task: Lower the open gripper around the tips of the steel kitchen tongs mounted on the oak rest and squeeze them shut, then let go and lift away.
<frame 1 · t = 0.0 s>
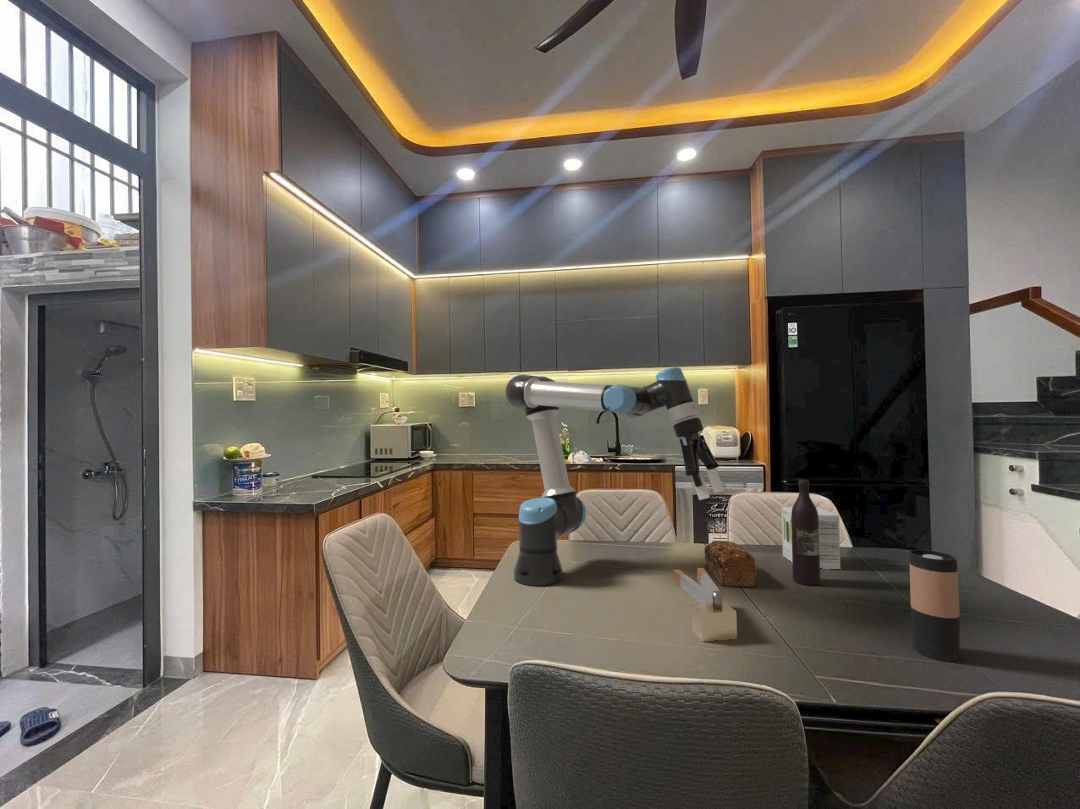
hand: (712, 495, 122), 28 cm above the table, tool tilted 20°, fingers open, 13 cm apart
tong arm: (708, 586, 110), point 8 cm above the table, hinge at 15.0°
travel mug: (936, 653, 93), on the table
bread: (728, 577, 139), on the table
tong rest: (714, 635, 102), on the table
wine bottle: (806, 582, 134), on the table
supplement box: (810, 563, 152), on the table
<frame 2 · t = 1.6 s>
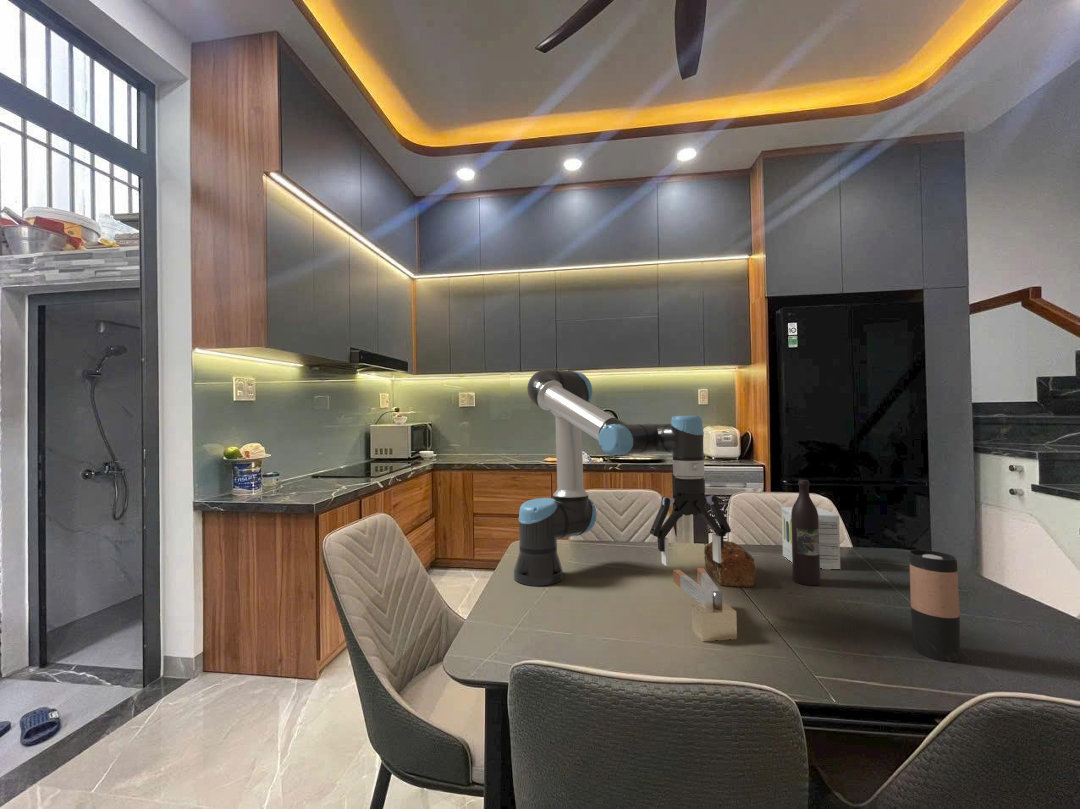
hand: (691, 563, 113), 13 cm above the table, tool pointing down, fingers open, 13 cm apart
nothing on the table moved.
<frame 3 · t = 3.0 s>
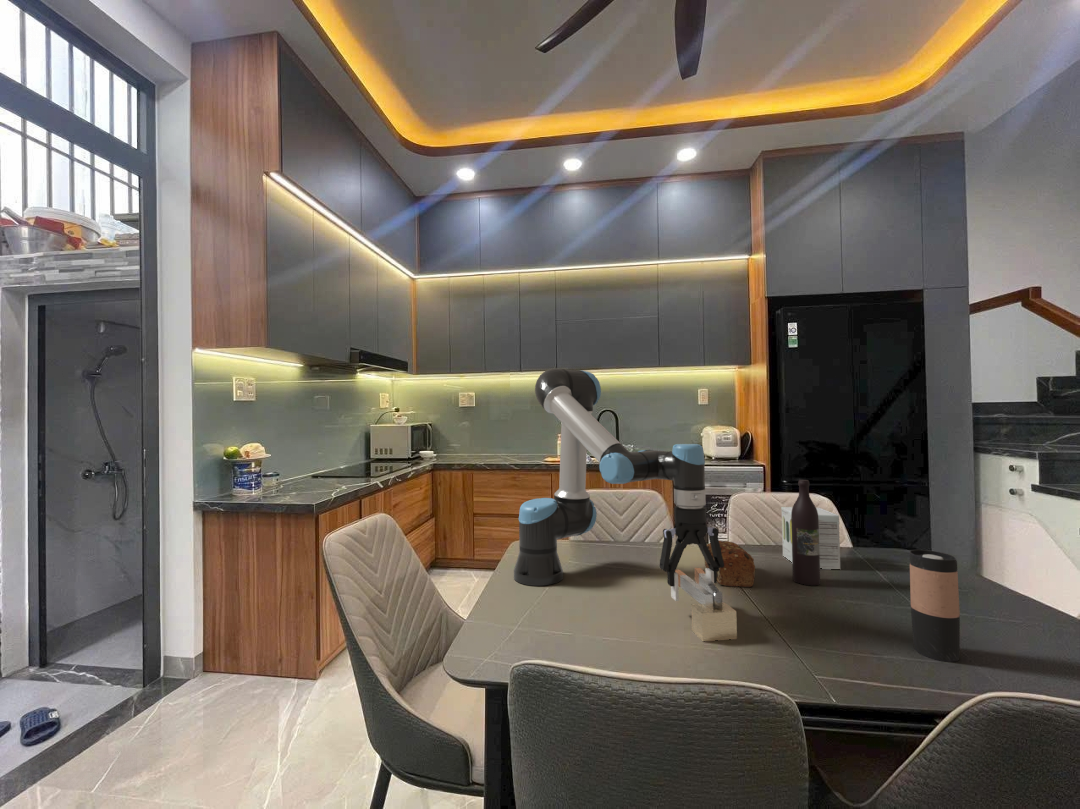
hand: (692, 597, 113), 4 cm above the table, tool pointing down, fingers open, 9 cm apart
tong arm: (707, 586, 110), point 8 cm above the table, hinge at 12.8°
everything else where it was.
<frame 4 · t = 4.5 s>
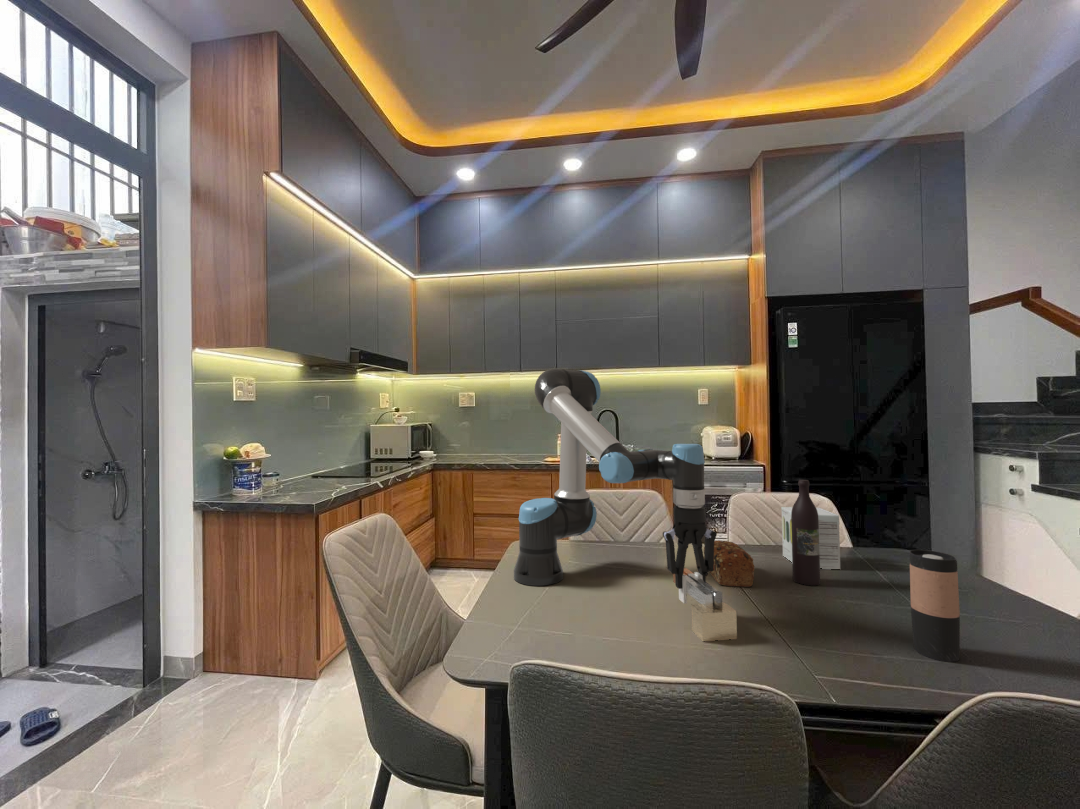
hand: (690, 600, 113), 3 cm above the table, tool pointing down, fingers open, 4 cm apart
tong arm: (700, 586, 110), point 8 cm above the table, hinge at -0.2°, touching gripper
everything else where it was.
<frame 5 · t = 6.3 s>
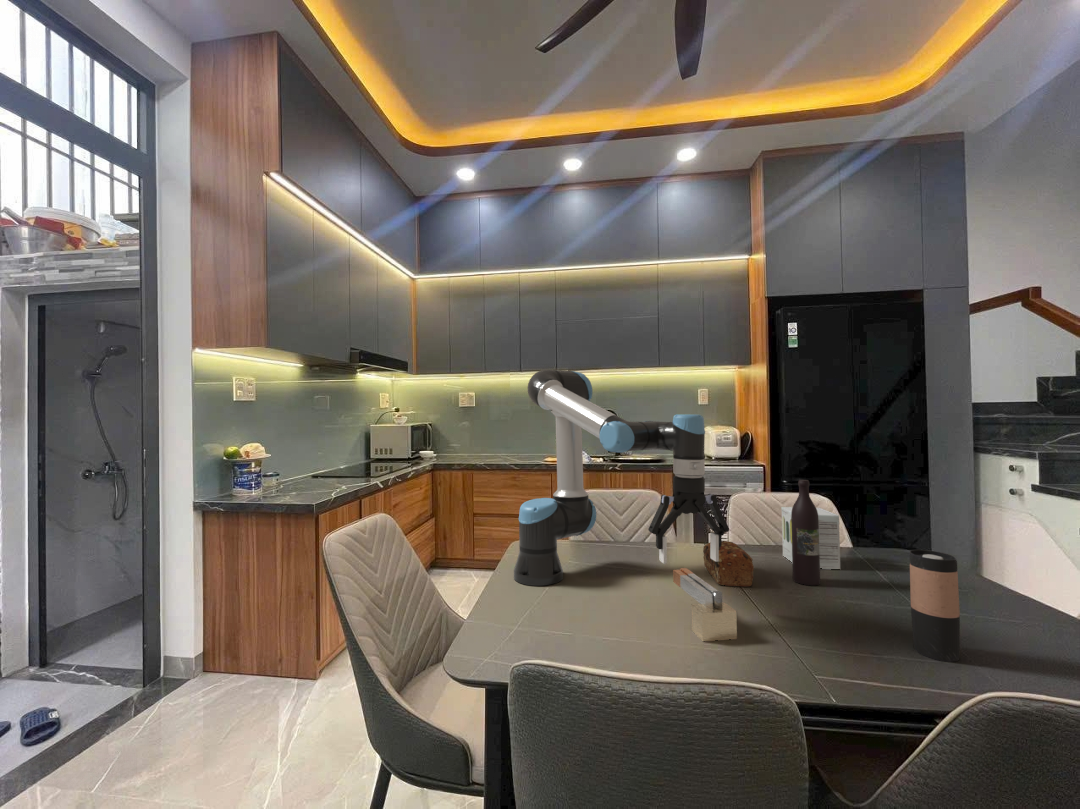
hand: (688, 561, 113), 13 cm above the table, tool pointing down, fingers open, 13 cm apart
tong arm: (700, 586, 110), point 8 cm above the table, hinge at -0.2°
everything else where it was.
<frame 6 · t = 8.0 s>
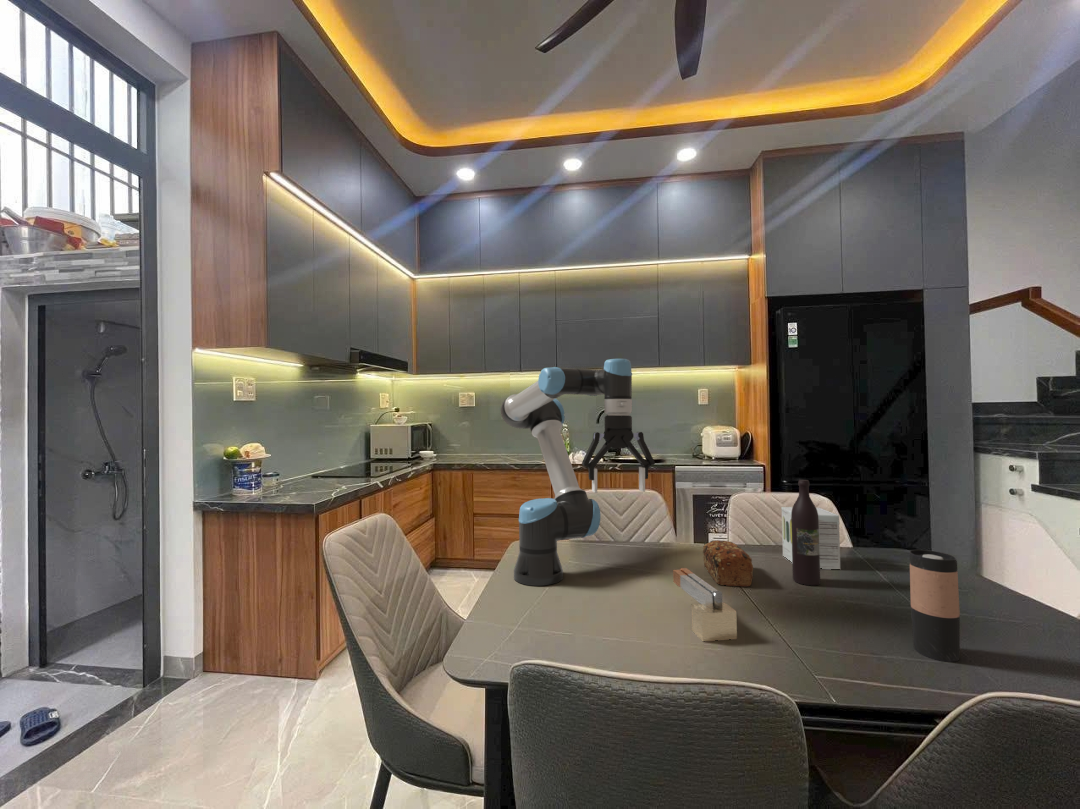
hand: (618, 491, 125), 28 cm above the table, tool pointing down, fingers open, 13 cm apart
nothing on the table moved.
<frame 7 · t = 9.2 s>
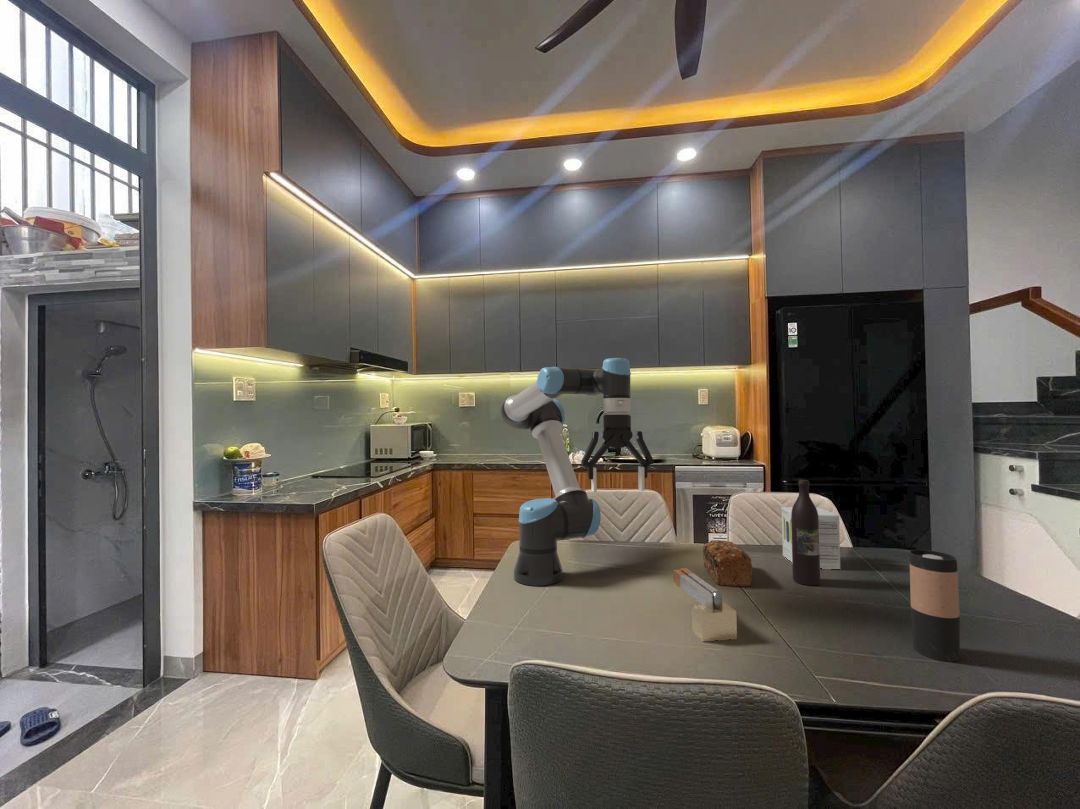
hand: (617, 490, 125), 29 cm above the table, tool pointing down, fingers open, 13 cm apart
nothing on the table moved.
at the end: tong arm at +0° (first picture: +15°); the gripper is holding nothing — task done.
